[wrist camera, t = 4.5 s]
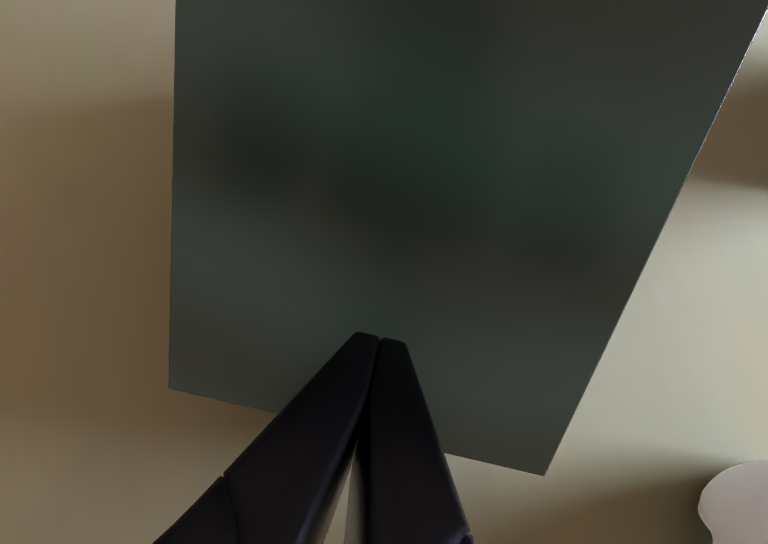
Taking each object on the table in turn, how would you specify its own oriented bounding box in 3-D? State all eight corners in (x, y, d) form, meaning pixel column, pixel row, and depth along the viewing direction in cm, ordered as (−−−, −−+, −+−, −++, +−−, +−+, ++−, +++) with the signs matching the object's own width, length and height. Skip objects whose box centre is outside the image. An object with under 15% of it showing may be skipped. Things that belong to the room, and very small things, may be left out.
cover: (194, -176, 10) (178, -187, 10) (775, -45, 10) (796, -49, 9) (178, 374, 16) (167, 389, 16) (541, 459, 16) (544, 476, 16)
